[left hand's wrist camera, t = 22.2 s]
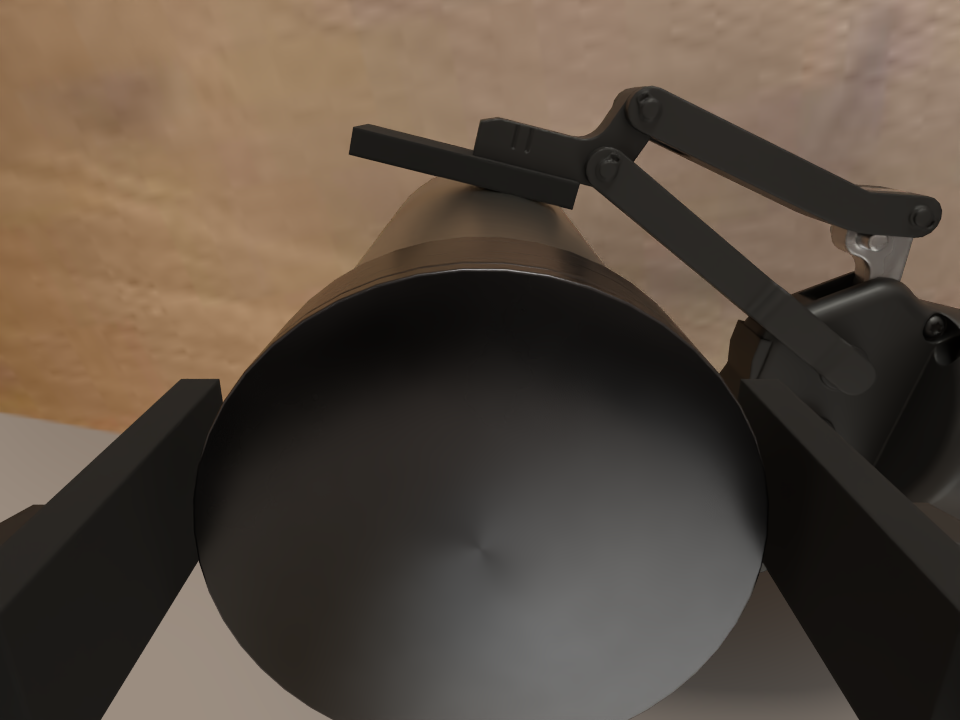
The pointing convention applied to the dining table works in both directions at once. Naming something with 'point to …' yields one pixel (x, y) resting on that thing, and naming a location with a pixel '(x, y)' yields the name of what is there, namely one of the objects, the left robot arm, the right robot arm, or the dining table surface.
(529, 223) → the jar
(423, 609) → the lid
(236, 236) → the dining table surface
